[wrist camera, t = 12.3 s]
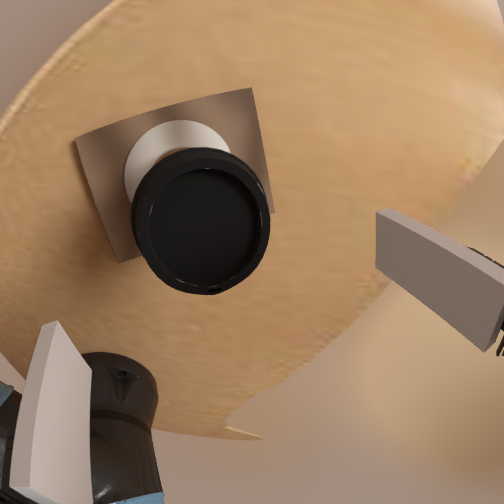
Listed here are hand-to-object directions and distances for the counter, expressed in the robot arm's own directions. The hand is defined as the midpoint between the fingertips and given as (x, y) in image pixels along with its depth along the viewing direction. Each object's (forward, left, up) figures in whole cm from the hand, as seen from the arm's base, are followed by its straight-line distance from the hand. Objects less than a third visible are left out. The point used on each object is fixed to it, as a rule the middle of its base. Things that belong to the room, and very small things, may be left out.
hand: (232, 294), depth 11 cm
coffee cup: (0, 0, -21) cm, 21 cm away
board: (0, 0, -23) cm, 23 cm away
